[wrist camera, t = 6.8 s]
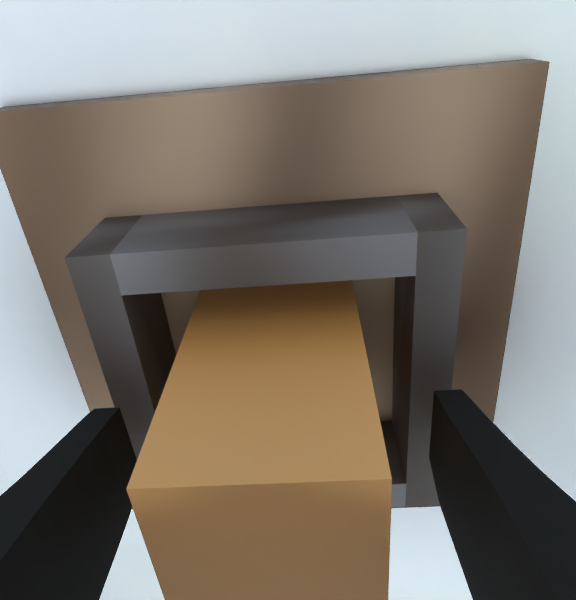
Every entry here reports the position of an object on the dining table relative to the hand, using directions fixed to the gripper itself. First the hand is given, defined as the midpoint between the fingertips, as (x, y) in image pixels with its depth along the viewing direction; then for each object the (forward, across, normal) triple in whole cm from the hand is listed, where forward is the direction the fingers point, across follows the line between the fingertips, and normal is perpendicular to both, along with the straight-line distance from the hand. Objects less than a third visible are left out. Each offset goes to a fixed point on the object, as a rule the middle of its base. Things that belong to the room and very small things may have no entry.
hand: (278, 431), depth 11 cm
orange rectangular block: (+4, 0, 0) cm, 4 cm away
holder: (+5, 0, 0) cm, 5 cm away
